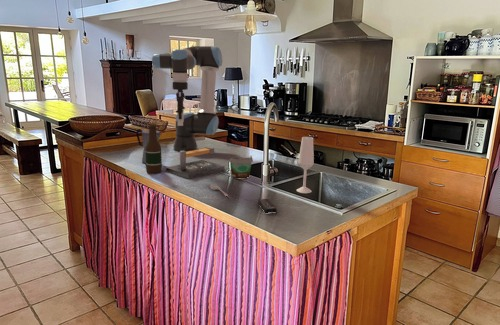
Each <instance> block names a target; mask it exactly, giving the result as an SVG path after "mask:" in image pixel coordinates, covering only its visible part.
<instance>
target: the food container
mask: <svg viewBox="0 0 500 325" xmlns="http://www.w3.org/2000/svg"><path fill="white" fill-rule="evenodd" d="M253 161H254V159H253V156H252V155H250V156H249V157H238V158H232V157H230V158H229V160H228V163H230V175H231V178H232V177H233V179H235V178H246V179H248V178H247V177H249V176H250V175H251V168H252V163H253ZM250 177H251V176H250ZM250 177H249V178H250Z"/></svg>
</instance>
